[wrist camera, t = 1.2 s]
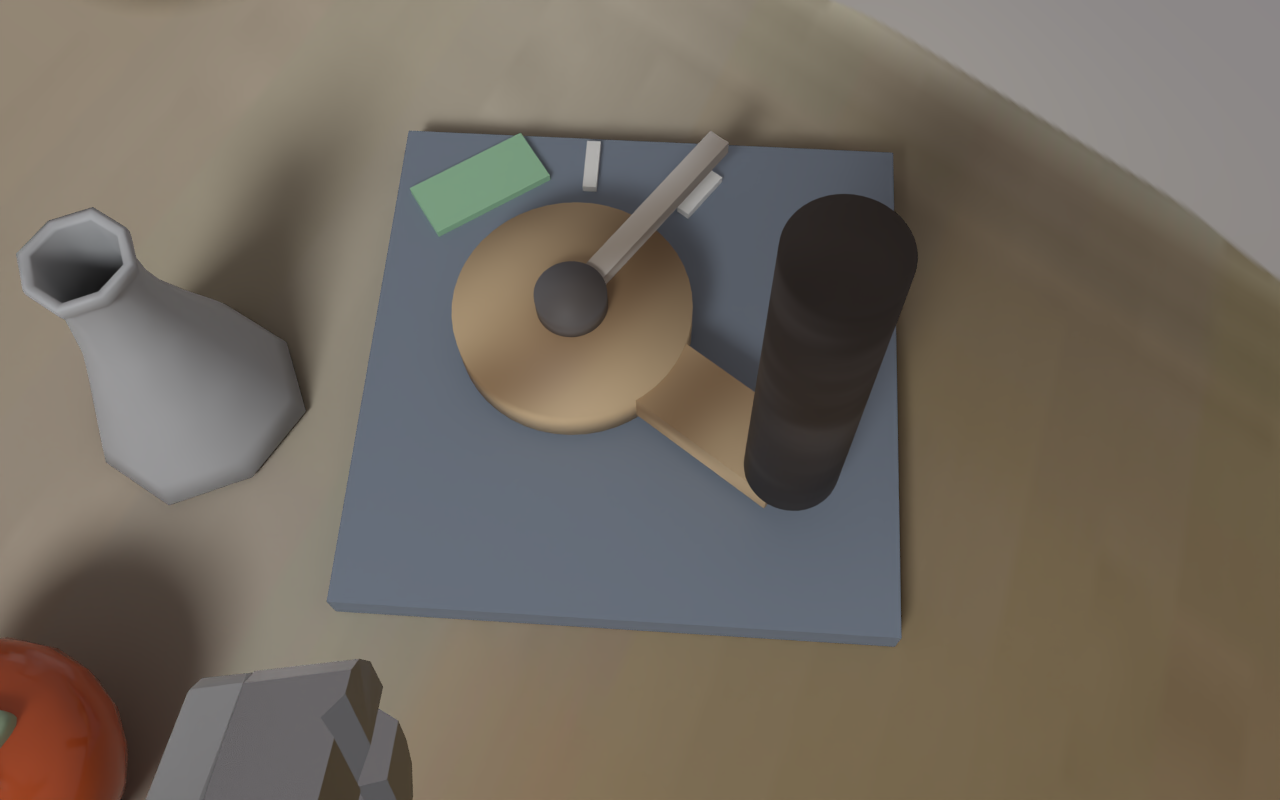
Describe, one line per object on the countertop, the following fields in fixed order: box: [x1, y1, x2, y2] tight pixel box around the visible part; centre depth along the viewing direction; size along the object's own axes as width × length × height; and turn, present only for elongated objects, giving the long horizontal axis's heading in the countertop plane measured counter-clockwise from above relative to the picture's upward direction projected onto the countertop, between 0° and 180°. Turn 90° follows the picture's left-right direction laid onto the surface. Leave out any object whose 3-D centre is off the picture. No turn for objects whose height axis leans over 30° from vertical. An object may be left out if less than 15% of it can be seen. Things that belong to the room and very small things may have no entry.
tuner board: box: [327, 131, 901, 647], centre depth 42 cm, size 18×18×2 cm
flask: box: [16, 207, 306, 505], centre depth 38 cm, size 7×7×10 cm
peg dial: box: [452, 131, 918, 511], centre depth 35 cm, size 14×12×14 cm
